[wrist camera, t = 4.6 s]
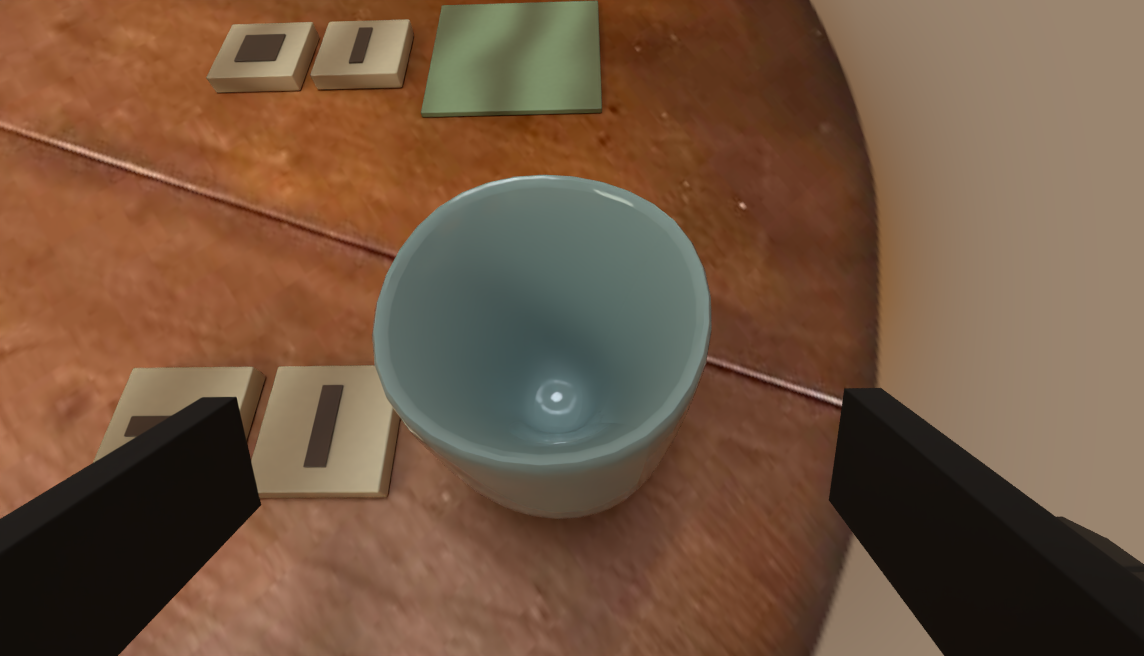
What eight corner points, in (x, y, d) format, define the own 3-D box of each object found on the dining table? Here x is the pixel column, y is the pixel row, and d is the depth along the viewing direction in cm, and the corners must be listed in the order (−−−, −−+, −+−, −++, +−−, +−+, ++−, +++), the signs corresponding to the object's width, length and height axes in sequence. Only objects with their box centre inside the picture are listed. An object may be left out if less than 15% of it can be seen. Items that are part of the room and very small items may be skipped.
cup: (672, 358, 22) (727, 189, 13) (649, 557, 18) (703, 510, 10) (492, 329, 23) (431, 154, 14) (437, 513, 19) (308, 433, 10)
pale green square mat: (597, 5, 34) (598, -13, 33) (601, 113, 29) (602, 95, 28) (253, 15, 34) (243, -2, 33) (202, 122, 30) (189, 106, 29)
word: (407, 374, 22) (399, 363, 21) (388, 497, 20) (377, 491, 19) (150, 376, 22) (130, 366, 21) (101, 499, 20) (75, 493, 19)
